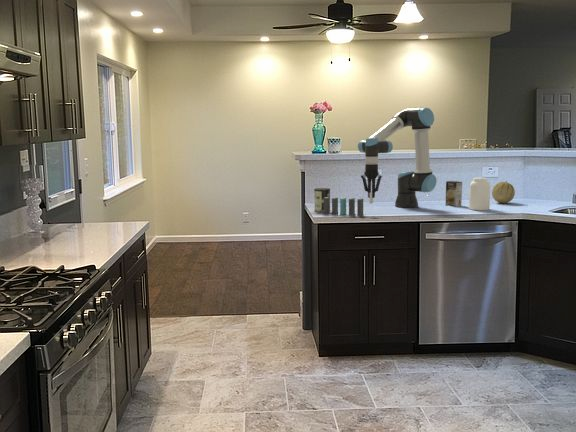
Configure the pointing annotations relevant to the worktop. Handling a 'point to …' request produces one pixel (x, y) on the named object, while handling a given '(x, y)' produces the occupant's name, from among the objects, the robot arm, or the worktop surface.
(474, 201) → the cream jar
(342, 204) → the teal domino
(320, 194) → the coffee can
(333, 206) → the domino
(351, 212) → the domino
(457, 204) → the coffee box
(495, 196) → the cantaloupe
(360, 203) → the domino
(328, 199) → the domino
